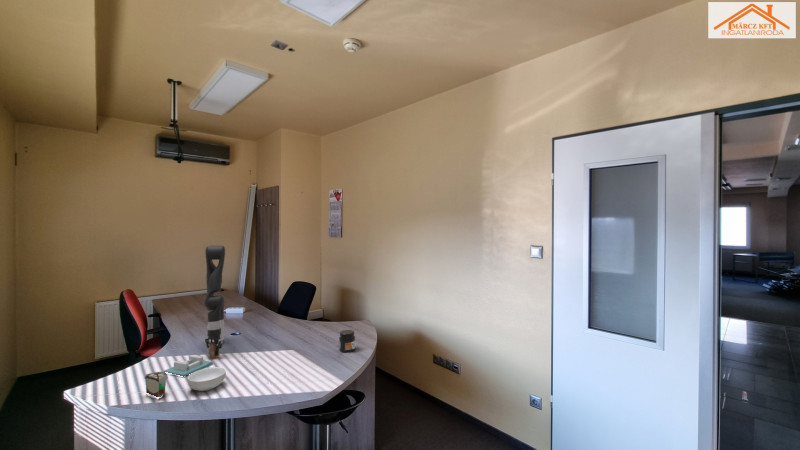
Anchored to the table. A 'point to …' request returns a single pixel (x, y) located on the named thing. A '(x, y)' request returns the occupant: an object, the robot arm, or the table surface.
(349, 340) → the supplement container
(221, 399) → the table surface
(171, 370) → the dish
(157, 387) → the food container
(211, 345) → the brown upright block
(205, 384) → the cereal bowl
